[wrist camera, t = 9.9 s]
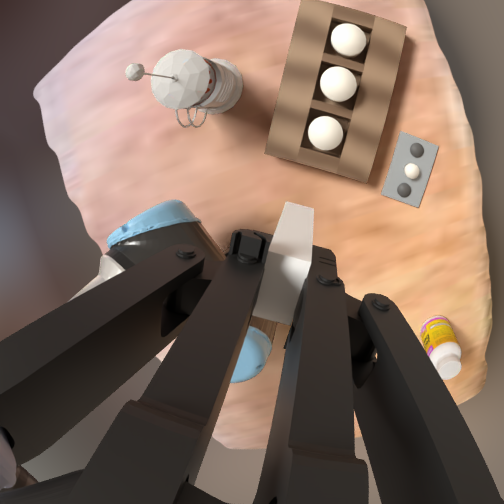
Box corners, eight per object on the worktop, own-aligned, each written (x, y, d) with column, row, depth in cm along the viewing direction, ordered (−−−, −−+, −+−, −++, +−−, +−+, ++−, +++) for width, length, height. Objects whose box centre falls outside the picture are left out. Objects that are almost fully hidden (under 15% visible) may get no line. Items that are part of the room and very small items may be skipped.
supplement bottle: (419, 317, 56) (434, 361, 45) (449, 311, 54) (468, 352, 43) (419, 342, 59) (431, 386, 47) (447, 336, 57) (464, 378, 45)
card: (417, 207, 48) (420, 209, 47) (380, 194, 49) (382, 196, 48) (438, 146, 43) (441, 147, 42) (400, 130, 44) (402, 131, 43)
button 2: (350, 106, 42) (351, 105, 39) (317, 96, 42) (316, 95, 39) (357, 75, 40) (360, 72, 37) (324, 65, 40) (324, 62, 37)
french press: (245, 58, 44) (181, 17, 22) (240, 126, 49) (173, 139, 27) (188, 59, 46) (94, 33, 24) (184, 124, 51) (90, 139, 29)
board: (363, 178, 49) (366, 183, 45) (268, 151, 50) (264, 153, 47) (401, 32, 37) (406, 26, 34) (303, 4, 38) (301, -4, 35)
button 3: (359, 62, 40) (362, 58, 37) (327, 52, 40) (328, 48, 37) (366, 34, 38) (369, 29, 35) (334, 25, 38) (335, 19, 35)
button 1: (336, 152, 47) (337, 154, 44) (305, 142, 47) (304, 144, 44) (345, 121, 44) (346, 122, 41) (313, 112, 45) (312, 112, 42)
